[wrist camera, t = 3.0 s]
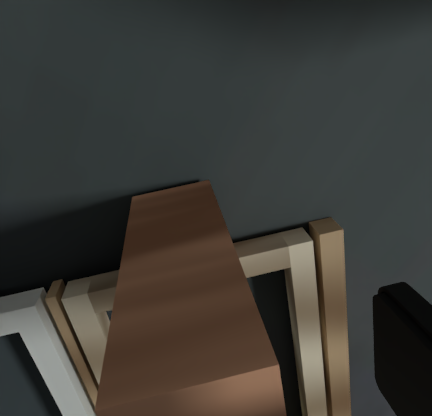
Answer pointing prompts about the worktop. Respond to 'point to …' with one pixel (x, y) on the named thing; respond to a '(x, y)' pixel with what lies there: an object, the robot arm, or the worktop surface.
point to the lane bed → (328, 316)
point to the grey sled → (46, 349)
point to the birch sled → (195, 315)
